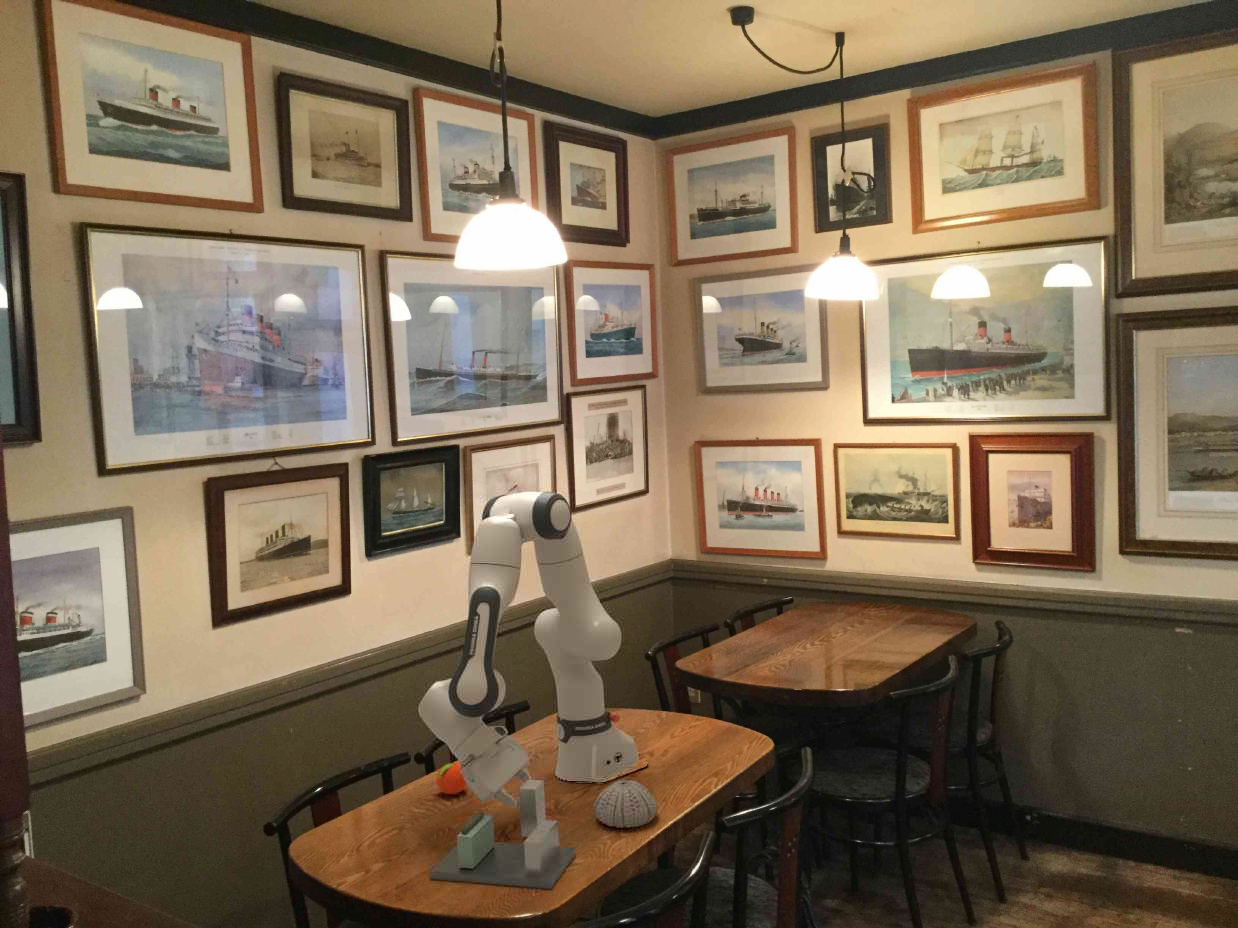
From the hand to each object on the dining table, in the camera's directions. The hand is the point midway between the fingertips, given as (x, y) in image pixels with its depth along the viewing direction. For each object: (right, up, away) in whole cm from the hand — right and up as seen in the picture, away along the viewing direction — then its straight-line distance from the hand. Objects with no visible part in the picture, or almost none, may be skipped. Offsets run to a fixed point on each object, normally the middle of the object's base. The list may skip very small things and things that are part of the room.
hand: (524, 797), depth 207 cm
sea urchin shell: (+21, -6, +4) cm, 22 cm away
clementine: (-19, -7, +24) cm, 31 cm away
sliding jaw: (-8, -7, -14) cm, 17 cm away
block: (+2, -7, 0) cm, 7 cm away
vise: (-3, -8, -15) cm, 17 cm away
